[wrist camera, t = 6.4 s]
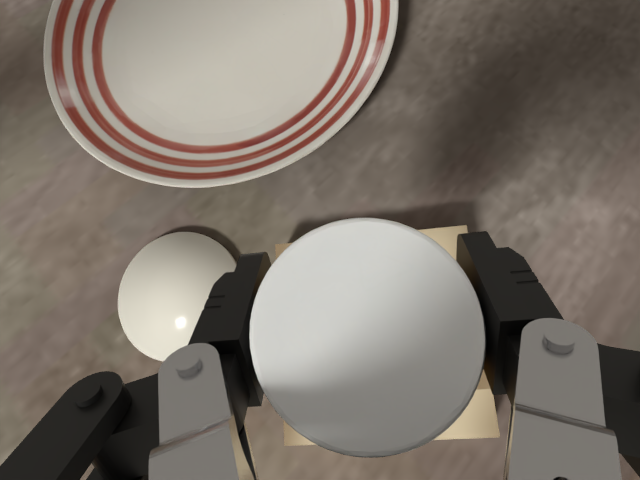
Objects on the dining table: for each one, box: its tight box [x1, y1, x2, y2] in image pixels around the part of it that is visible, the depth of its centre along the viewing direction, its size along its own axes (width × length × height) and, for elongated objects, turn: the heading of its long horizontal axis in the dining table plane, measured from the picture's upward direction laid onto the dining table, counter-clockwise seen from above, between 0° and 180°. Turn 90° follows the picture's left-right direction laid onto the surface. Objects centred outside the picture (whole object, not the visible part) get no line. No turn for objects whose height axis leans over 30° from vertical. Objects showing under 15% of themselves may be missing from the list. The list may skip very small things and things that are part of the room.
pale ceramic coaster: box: [118, 232, 237, 361], centre depth 29 cm, size 9×9×1 cm
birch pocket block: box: [275, 225, 500, 446], centre depth 26 cm, size 12×12×2 cm
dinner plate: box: [43, 0, 399, 188], centre depth 33 cm, size 28×27×3 cm
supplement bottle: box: [249, 218, 486, 457], centre depth 12 cm, size 5×5×10 cm
